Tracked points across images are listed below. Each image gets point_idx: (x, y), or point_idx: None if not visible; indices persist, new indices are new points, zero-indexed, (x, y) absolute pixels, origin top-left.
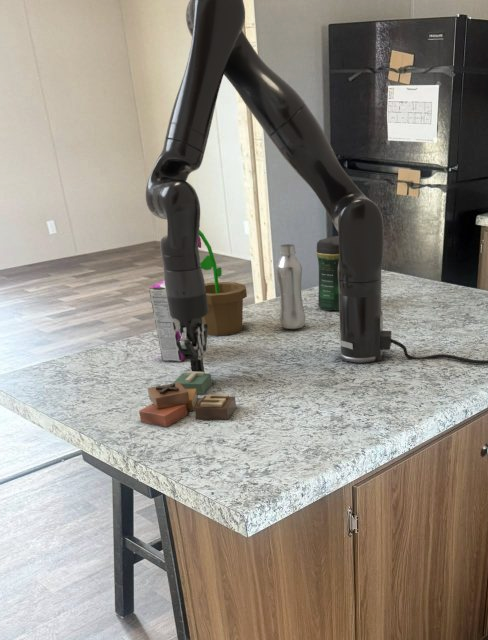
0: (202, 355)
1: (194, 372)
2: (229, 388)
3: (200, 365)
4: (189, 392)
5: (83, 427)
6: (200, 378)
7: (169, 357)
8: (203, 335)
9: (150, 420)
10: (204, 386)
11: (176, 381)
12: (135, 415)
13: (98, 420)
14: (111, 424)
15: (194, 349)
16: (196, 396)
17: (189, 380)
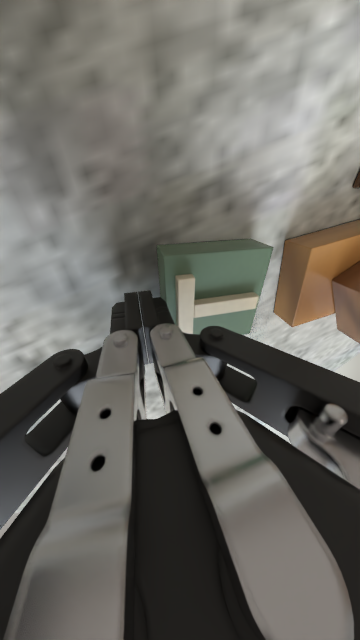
0: (128, 336)
1: (189, 312)
2: (198, 140)
3: (156, 313)
4: (337, 256)
5: (338, 364)
6: (218, 274)
7: None
8: (78, 460)
9: None
10: (240, 244)
11: (238, 330)
12: (327, 328)
13: (323, 362)
14: (346, 340)
15: (259, 367)
16: (307, 239)
17: (257, 295)
